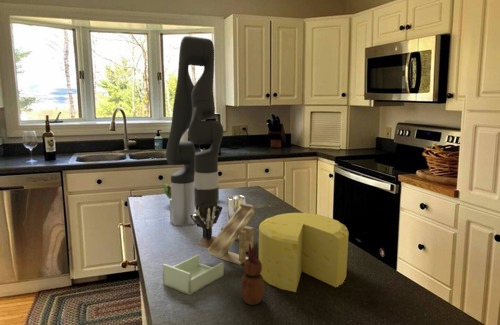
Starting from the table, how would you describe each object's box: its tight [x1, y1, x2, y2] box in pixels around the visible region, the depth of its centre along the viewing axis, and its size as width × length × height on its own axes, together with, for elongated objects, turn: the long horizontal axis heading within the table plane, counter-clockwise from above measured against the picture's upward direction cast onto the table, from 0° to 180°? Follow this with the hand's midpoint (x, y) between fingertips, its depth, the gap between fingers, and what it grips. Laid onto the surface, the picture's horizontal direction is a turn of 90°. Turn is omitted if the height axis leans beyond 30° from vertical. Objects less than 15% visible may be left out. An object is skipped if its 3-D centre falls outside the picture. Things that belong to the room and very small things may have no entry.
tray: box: [162, 254, 225, 296], centre depth 113 cm, size 10×14×6 cm
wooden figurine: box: [240, 243, 265, 306], centre depth 101 cm, size 7×6×15 cm
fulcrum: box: [216, 225, 254, 266], centre depth 130 cm, size 12×9×10 cm
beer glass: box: [226, 194, 247, 241], centre depth 146 cm, size 7×7×15 cm
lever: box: [197, 203, 256, 259], centre depth 128 cm, size 20×11×3 cm
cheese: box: [258, 212, 350, 293], centre depth 119 cm, size 26×26×15 cm
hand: (207, 238), depth 127 cm, fingers closed
